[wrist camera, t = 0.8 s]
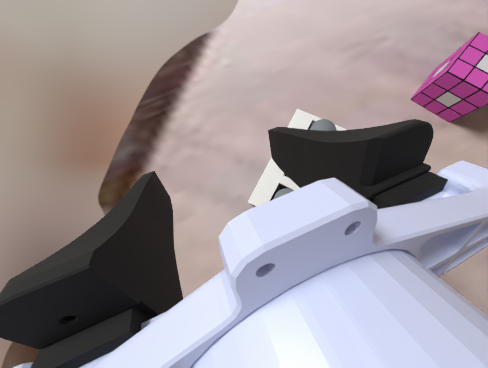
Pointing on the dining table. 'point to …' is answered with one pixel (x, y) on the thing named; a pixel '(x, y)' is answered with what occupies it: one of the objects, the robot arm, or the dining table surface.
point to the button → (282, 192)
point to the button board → (273, 172)
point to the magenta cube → (458, 82)
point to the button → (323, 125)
